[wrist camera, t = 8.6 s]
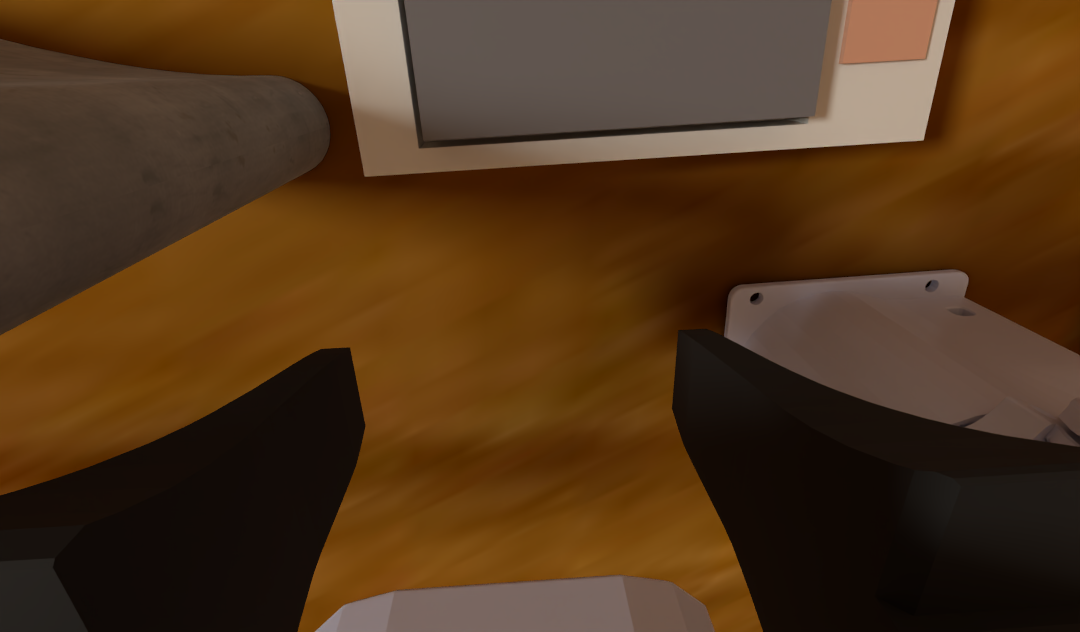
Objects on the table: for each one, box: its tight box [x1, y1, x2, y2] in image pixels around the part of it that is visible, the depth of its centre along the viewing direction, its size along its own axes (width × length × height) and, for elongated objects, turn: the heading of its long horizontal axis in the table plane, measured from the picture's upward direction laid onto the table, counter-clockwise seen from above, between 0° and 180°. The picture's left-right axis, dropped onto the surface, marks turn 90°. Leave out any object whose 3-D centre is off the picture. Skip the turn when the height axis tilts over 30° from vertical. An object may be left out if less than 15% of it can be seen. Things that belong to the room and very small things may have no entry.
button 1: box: [404, 0, 832, 141], centre depth 15 cm, size 11×5×2 cm, turn 93°
